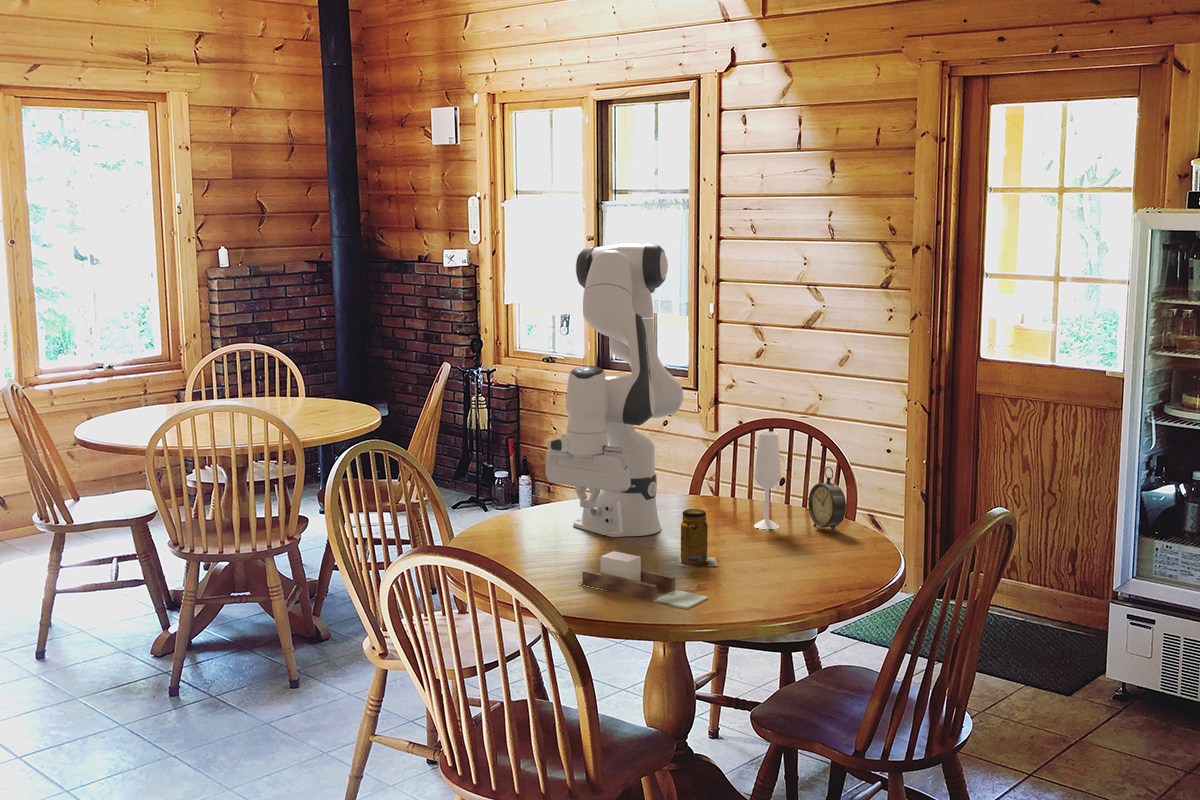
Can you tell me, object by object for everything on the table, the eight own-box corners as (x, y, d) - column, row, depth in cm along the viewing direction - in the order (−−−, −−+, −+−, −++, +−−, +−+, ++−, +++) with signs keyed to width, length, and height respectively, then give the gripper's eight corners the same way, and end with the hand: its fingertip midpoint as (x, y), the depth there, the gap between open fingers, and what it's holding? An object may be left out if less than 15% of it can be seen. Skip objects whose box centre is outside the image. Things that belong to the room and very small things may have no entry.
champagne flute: (749, 528, 296) (751, 434, 292) (756, 522, 302) (758, 430, 298) (776, 531, 293) (778, 436, 290) (782, 524, 300) (784, 432, 296)
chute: (578, 585, 250) (578, 570, 250) (601, 575, 257) (601, 561, 257) (687, 609, 235) (687, 593, 234) (708, 598, 242) (708, 583, 241)
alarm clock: (806, 525, 298) (807, 463, 296) (824, 523, 301) (826, 461, 298) (831, 536, 289) (832, 471, 286) (849, 534, 291) (851, 469, 288)
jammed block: (600, 583, 249) (600, 556, 248) (613, 578, 253) (613, 551, 252) (627, 589, 245) (627, 561, 244) (640, 583, 249) (640, 556, 248)
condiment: (678, 558, 271) (678, 507, 269) (715, 558, 271) (715, 507, 269) (680, 567, 263) (680, 515, 262) (717, 567, 263) (718, 515, 261)
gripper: (636, 446, 246) (636, 510, 248) (558, 437, 258) (559, 498, 260) (619, 450, 241) (619, 516, 243) (541, 441, 253) (541, 504, 255)
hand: (587, 507), depth 251 cm, fingers closed
